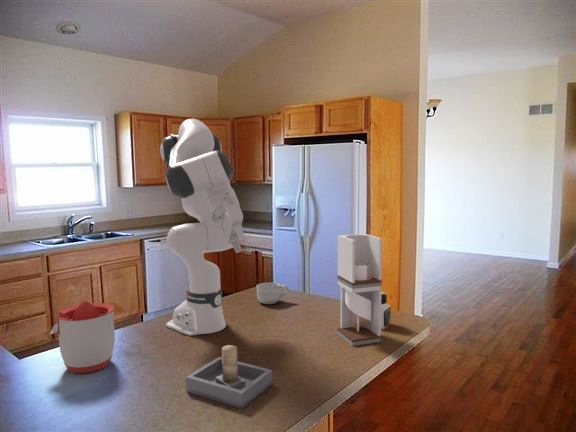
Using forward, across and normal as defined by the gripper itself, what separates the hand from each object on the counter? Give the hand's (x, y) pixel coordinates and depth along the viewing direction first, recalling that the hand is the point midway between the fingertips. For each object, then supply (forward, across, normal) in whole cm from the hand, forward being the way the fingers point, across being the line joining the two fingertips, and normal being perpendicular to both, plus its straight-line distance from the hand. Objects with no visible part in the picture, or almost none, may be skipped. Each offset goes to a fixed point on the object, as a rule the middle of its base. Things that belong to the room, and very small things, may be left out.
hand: (240, 246), depth 126 cm
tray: (+35, +6, +16) cm, 39 cm away
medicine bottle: (+35, +36, -45) cm, 67 cm away
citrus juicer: (+12, +28, +51) cm, 59 cm away
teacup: (+9, +68, -19) cm, 71 cm away
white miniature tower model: (+36, +27, -32) cm, 56 cm away
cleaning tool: (+34, +6, +15) cm, 37 cm away
